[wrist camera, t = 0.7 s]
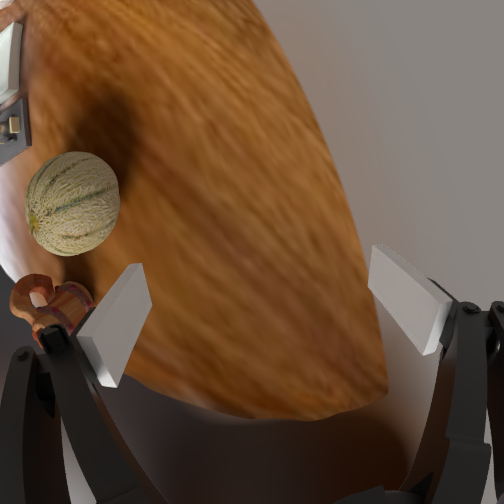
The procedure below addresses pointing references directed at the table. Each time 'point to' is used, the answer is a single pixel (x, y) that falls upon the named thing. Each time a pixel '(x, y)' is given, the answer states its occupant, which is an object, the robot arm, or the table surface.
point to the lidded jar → (5, 3)
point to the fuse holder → (16, 131)
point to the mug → (50, 303)
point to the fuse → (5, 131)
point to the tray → (10, 60)
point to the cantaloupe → (72, 203)
